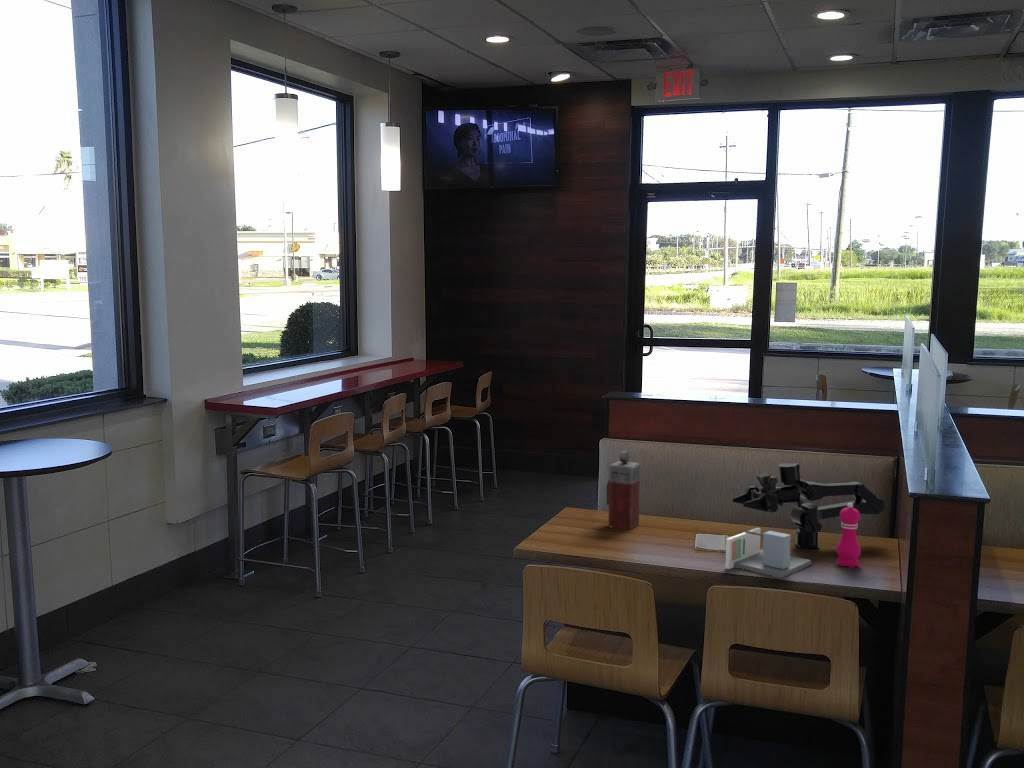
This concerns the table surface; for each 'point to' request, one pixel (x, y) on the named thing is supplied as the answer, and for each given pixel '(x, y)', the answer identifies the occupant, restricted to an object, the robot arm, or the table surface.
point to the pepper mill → (848, 537)
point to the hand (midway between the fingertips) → (737, 502)
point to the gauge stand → (756, 556)
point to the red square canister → (623, 493)
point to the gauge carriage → (775, 549)
